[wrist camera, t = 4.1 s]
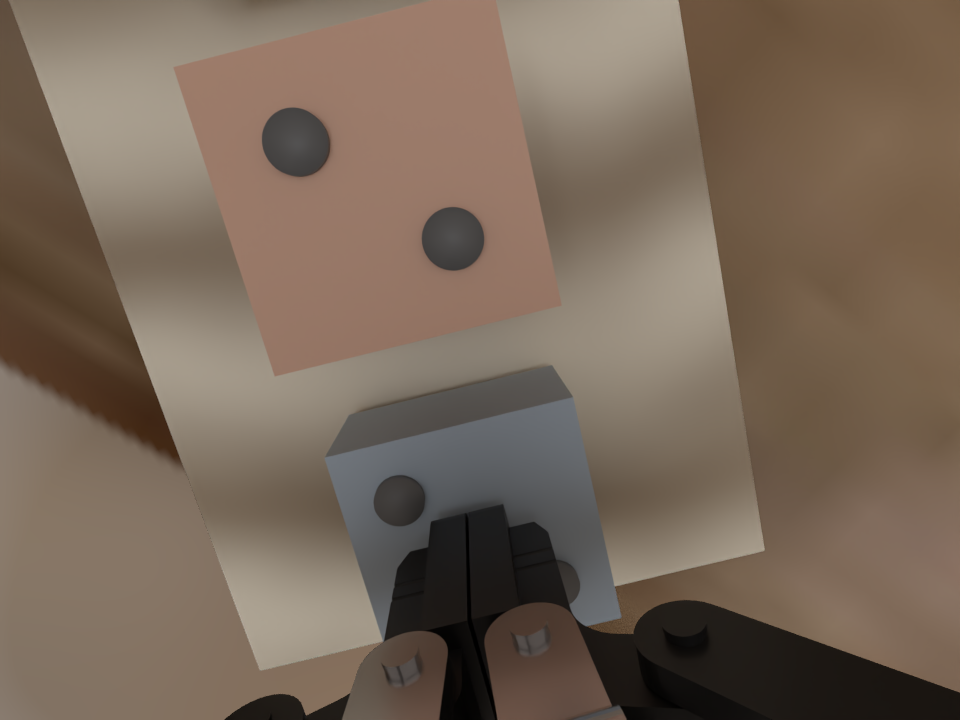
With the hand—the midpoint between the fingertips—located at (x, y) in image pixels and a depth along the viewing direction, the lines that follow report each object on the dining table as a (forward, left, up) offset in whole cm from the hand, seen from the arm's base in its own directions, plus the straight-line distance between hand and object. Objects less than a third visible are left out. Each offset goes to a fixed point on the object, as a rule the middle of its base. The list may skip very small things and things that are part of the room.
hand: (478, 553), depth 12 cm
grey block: (0, 0, -3) cm, 3 cm away
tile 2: (-7, 0, -2) cm, 7 cm away
